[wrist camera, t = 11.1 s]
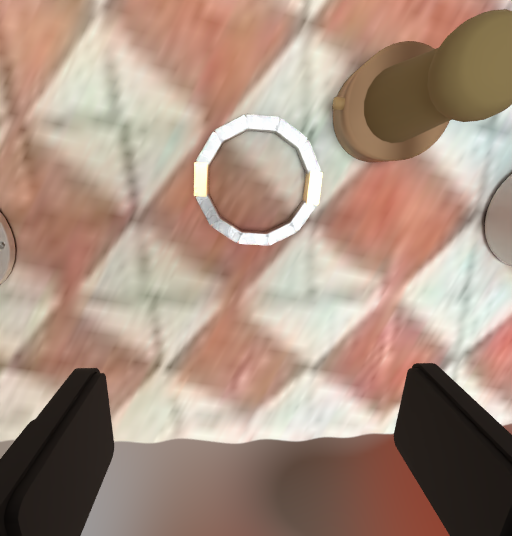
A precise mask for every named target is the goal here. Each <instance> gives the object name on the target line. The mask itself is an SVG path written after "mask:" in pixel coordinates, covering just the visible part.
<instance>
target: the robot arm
mask: <svg viewBox="0 0 512 536" xmlns="http://www.w3.org/2000/svg"><path fill="white" fill-rule="evenodd" d="M14 261H15V243H14V238H13V235H12V232H11V229H10V227H9V225H8V223H7V221H6V219H5V218H4V216H3V215H2V214H1V212H0V284H1V283H2V282H4V281H5V280H6V278H7V277H8V275H9V274H10V272H11V270H12V267H13V264H14ZM394 441H395V445H396V447H397V449H398V450H399V452H400V454H401V455H402V457H403V459H404V460H405V462H406V464H407V465H408V467H409V469H410V470H411V472H412V474H413V475H414V477H415V479H416V480H417V482H418V484H419V485H420V487H421V488H422V490H423V492H424V494H425V495H426V497H427V498H428V500H429V502H430V503H431V505H432V507H433V508H434V510H435V512H436V513H437V515H438V516H439V518H440V520H441V522H442V523H443V525H444V526H445V528H446V530H447V531H448V533H449V535H450V536H512V435H511V434H510V433H509V432H508V431H507V430H506V429H505V428H504V427H503V426H502V425H501V424H499V423H498V422H497V421H496V420H495V419H494V418H493V417H492V416H491V415H490V414H489V413H488V412H487V411H486V410H484V409H483V408H482V407H481V406H480V405H479V404H478V403H477V402H476V401H475V400H474V399H473V398H472V397H471V396H469V395H468V394H467V393H466V392H465V391H464V390H463V389H462V388H461V387H460V386H459V385H458V384H457V383H456V382H454V381H453V380H452V379H451V378H450V377H449V376H448V375H447V374H446V373H445V372H444V371H443V370H442V369H441V368H439V367H438V366H437V365H436V364H433V363H416V364H414V365H413V366H412V368H410V369H409V370H408V372H407V376H406V381H405V386H404V390H403V395H402V399H401V404H400V409H399V413H398V418H397V422H396V427H395V432H394ZM113 452H114V440H113V431H112V423H111V415H110V407H109V399H108V391H107V383H106V376H105V374H104V373H100V371H99V370H98V369H97V368H77V369H75V370H74V371H73V372H72V373H71V375H70V376H69V377H68V378H67V380H66V381H65V382H64V383H63V385H62V386H61V387H60V389H59V390H58V391H57V392H56V394H55V395H54V396H53V397H52V399H51V400H50V401H49V403H48V404H47V405H46V406H45V408H44V409H43V410H42V411H41V413H40V414H39V415H38V417H37V418H36V419H35V420H33V421H31V422H30V423H29V424H28V425H27V426H26V428H25V429H24V430H23V431H22V433H21V434H20V435H19V436H18V438H17V439H16V440H15V441H14V443H13V444H12V445H11V446H10V448H9V449H8V450H7V452H6V453H5V454H4V455H3V456H2V458H1V459H0V536H80V535H81V533H82V530H83V528H84V526H85V523H86V521H87V518H88V516H89V513H90V511H91V509H92V506H93V504H94V501H95V499H96V496H97V494H98V491H99V489H100V487H101V484H102V482H103V479H104V477H105V474H106V472H107V469H108V467H109V465H110V462H111V459H112V457H113Z"/></svg>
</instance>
